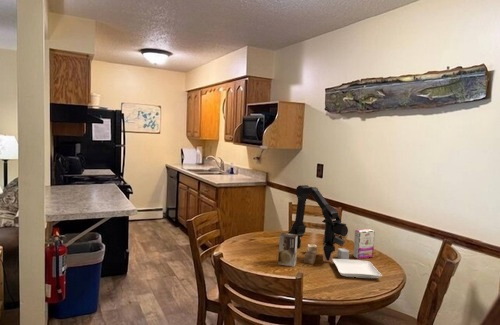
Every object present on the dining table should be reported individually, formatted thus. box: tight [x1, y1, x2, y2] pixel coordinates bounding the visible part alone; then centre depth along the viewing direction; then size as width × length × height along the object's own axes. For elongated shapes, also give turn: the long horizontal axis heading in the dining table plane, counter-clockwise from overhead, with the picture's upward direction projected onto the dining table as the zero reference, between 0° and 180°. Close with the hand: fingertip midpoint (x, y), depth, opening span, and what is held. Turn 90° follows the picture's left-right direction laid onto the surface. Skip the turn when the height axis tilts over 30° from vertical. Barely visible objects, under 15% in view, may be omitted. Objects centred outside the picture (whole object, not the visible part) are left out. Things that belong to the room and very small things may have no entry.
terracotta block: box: [322, 250, 334, 263], centre depth 199 cm, size 5×5×5 cm
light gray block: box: [336, 248, 350, 260], centre depth 204 cm, size 5×5×5 cm
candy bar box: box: [352, 228, 376, 260], centre depth 207 cm, size 11×5×16 cm, turn 112°
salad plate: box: [332, 258, 383, 279], centre depth 184 cm, size 21×21×3 cm
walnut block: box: [303, 251, 317, 265], centre depth 194 cm, size 5×5×5 cm
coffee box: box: [277, 232, 298, 268], centre depth 189 cm, size 9×6×16 cm
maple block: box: [306, 243, 318, 256], centre depth 208 cm, size 5×5×5 cm
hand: (327, 258), depth 199 cm, fingers open, 6 cm apart
